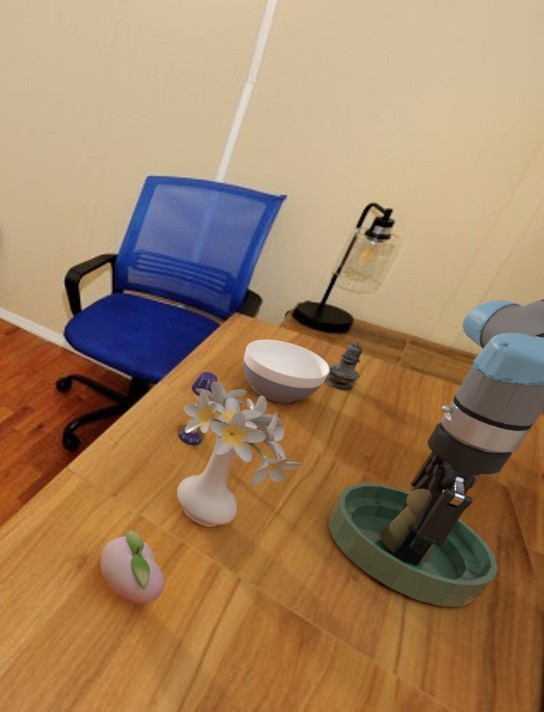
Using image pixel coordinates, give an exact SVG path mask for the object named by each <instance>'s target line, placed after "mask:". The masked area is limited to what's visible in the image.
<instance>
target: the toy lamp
mask: <svg viewBox="0 0 544 712" xmlns="http://www.w3.org/2000/svg"><path fill="white" fill-rule="evenodd" d="M218 379H219V378H218V376H217V374H215V373H213V372H210V371H203V372H201V373H200V374H199V375H198V376H197V377H196V379H195V380H194V381H193V383H192V385H191V388H190V389H191V390H192V393H193V394H195V395H196V396H198V397H197V398H196V402H195V404H194V405H196V406H198V407H200V405H199V395H200V393H198V392H197V391H196V389H205V390H207V391H209V392H211V393H212V390H211V383H212V382H219V380H218ZM212 395H213V394H212ZM200 408H201V407H200ZM193 419H196V418H193V417H191V416H190V420H189V422H190V421H191V420H193ZM178 438H179V439H180V440H181V441H182V442H183V443H185V444H187V445H190V446H198V445H201V442H202V436H201V434H200V432H198V428H197V429H195V430H193V431H192V432H189V433H186V432H185V428H182V429H181V430H180V431H179V432H178Z"/></svg>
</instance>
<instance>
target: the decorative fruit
mask: <svg viewBox="0 0 544 712" xmlns="http://www.w3.org/2000/svg"><path fill="white" fill-rule="evenodd" d="M100 569H101V573H102V577H103V578H104V581H105V583H106V584H107V586H108V587H109V588H110V590H111V591H112V592H113V593H114V594H116V595H117V596H118V597H120V598H121V599H123V600H125V601H126V602H129V603H132V604H135V605H146V604H147V605H148V604H150V603H153V602H154V601H156V600H157V599H159V598H160V597H161V595H162V593H163V592H164V588H165V577H164V574H163V572H162V569H161V568H160V566H159V565H158V563H157V562H156V558H155V554H154V551H153V550H152V548H151V547H150V546H149V545H148V544H147V543H146V542H145V541H143V539H142V537H141V535H139V534H138V533H137V532H136V531H134V530H132V529H130V530H129V531H127V533H126V535H124V536H120V537H117V538H114V539H112V540H110V541H108V542H107V543H106V544H105V546H104V547H103V549H102V551H101V555H100Z"/></svg>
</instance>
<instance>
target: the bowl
mask: <svg viewBox="0 0 544 712" xmlns="http://www.w3.org/2000/svg"><path fill="white" fill-rule="evenodd" d="M329 366H330V365H329V364H328V363H327V362H326V360H325V359H324V358H322V357H321V356H320V355H318V354H316V353H315V352H314V351H312V350H310V349H308V348H305V347H303V346H300V345H297V344H294V343H290V342H287V341H282V340H275V339H257V340H253V341H251V342H250V343H249V342H248V344H247V346H246V347H245V352H244V356H243V366H242V367H243V372H244V375H245V377H246V380H247V382H248V383H249V384H250V386H251V389H252V390H253V391H254V392H255V393H256V394H257V395H259V397H260V396H264V397H265V399H266V400H269V401H272V402H275V403H281V404H289V403H291V404H292V403H294V402H295V401H301V400H304V399H306V398H307V397H309V396H311V395H313V394H315V393H316V392H317V391H318V390H319V388H320V387H321V386H323V384H324V383H325V382H326V381H325V379H326V378H327V377H328V375H329Z"/></svg>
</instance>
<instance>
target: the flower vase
mask: <svg viewBox="0 0 544 712" xmlns="http://www.w3.org/2000/svg"><path fill="white" fill-rule="evenodd" d="M211 390H212V393H211V392H209V391H207V390H205V389H196V391H197V392H198V393H200V395H199V396H198V397H199V405H200V407H201V408H200V407H198V406H196V405H195V404H192V403H188V404H185V405H184V407H183V411H184V413H185V414H186V415H187V416H189V417H190V418H191V417H193V418H196V419H193V420H191V419H190V420H191V421H190V420H189V421H188V422H187V424H186V426H185V428H184V429H185V432H186V433H189V432H192V431H193V430H195V429H197V430H198V428H199V429H200V431H201V432H202V433H203V434H206V433H207V432H208V431H209V430H211V432H213V433H214V434H215V443H214V447H213V451H212V453H211V455H210V458H209V460H208V462H207V465H206V467H205V468H204V470H203V471H202V472H201V473H200V474H193V475H189V476H187V477H185V478H183V480H182V481H180V483H179V484H178V485H177V488H176V497H177V500H178V503H179V505H180V506H181V508H182V510H183V512H184V514H185V515H186V517H188V519H190V520H191V521H193V523H196V524H197V525H199V526H203V527H206V528H214V527H217V526H222V525H227V524H229V523H231V522H232V521H234V519H235V518H236V517H237V513H238V503H237V500H236V497H235V495H234V493H233V491H232V490H231V489H230V488H229V486H228V478H229V473H230V469H231V467H232V464H233V460H234V458H235V455H237V457H238V458H240V459H241V460H242V461H243V462H245V463H250V462H252V461H253V452H252V449H251V448H250V446H251V447H253V448H254V449H255V450H256V451H257V453H258V454H259V456H260V457H261V458H262V461H261V462H260V463H259V466H258V467H257V468H256V469H255V470H254V471H253V472H252V475H255V476H254V477H253V479H252V480H251V482H250V486H252V487H254V486H256V485H257V486H258V484H261V483H262V482H263V481H264V480H266V477H267V476H268V477H269V479H270V480H271V481H273V482H275V483H281V482H283V481H284V480H285V478H286V473H285V472H284V471H283V469H284V470H296V469H300V468H302V467H303V466H304V465H305V464H304V463H302V462H296V461H290V460H291V458H289V457H286V455H285V454H286V453H285V451H284V449H283V446H281V444H279V443H278V442H280V441H282V440H283V438H284V435H285V430H284V427H282V425H283V421H282V419H280V418H279V417H278V412H277V411H276V412H274V414H271V413H266V411H267V407H268V403H267V399H266V398H265V397H264V396H260V395H259V397H258V398H257V401H256V403H255V404H254V402H253V401H252V400H251V399H250V398H247V399H246V405H247V409H244V410H241V407H240V406H241V405H245V402H244V401H242V400H241V399H239V398H241V397H243V396H245V395H246V394H247V393H248V392H247V390H246V389H234V390H230V391H228V392H226V388H225V386H224V385H223V384H222V383H221V382H219V381H218V382H212V383H211ZM212 394H213V395H212ZM240 410H241V411H240ZM216 412H217V413H218V414H219V415H218V419H217V418H215V417H214V416H215V414H216ZM265 413H266V414H265ZM245 428H248V429H245ZM260 442H264V444H265V445H266V446H267V447H268V448H269V449H270V451H271V452H272V454H273V455H274V456H275V458H274V457H273V458H272V457H267V455H265V453H264V452H263V451H262V450H261V448H259V447H258V446H257V445H256V443H258V444H259V443H260Z"/></svg>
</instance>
